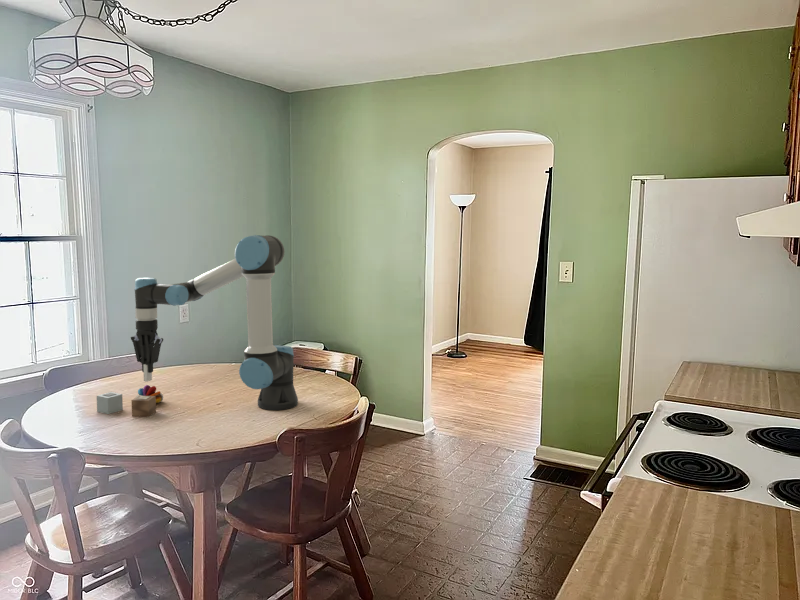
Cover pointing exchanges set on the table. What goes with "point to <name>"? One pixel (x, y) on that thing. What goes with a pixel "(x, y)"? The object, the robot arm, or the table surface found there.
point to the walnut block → (143, 406)
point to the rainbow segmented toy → (150, 393)
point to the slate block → (109, 403)
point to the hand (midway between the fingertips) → (147, 380)
